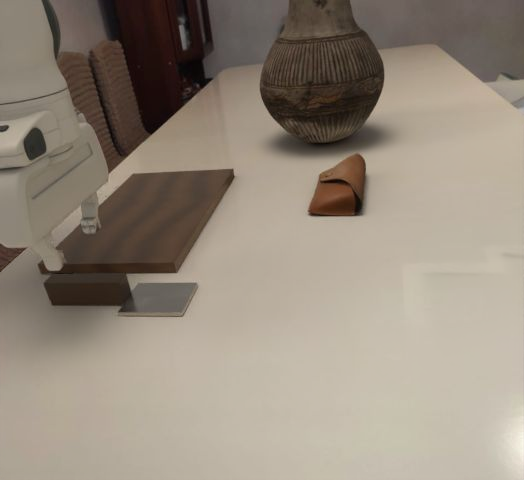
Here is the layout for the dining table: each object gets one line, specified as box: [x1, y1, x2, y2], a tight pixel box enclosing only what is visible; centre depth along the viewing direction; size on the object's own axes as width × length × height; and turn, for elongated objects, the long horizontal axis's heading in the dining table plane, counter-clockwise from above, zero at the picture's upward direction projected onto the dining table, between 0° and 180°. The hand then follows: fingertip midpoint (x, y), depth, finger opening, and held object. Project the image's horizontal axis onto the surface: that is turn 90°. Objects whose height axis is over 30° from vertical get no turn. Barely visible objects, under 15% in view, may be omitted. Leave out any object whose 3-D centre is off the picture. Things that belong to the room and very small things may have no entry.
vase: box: [259, 0, 386, 144], centre depth 103 cm, size 25×25×30 cm
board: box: [37, 168, 235, 275], centre depth 87 cm, size 20×37×2 cm, turn 170°
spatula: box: [42, 273, 199, 317], centre depth 65 cm, size 18×7×3 cm, turn 80°
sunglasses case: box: [307, 152, 367, 217], centre depth 86 cm, size 18×7×7 cm
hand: (76, 248), depth 63 cm, fingers open, 8 cm apart
